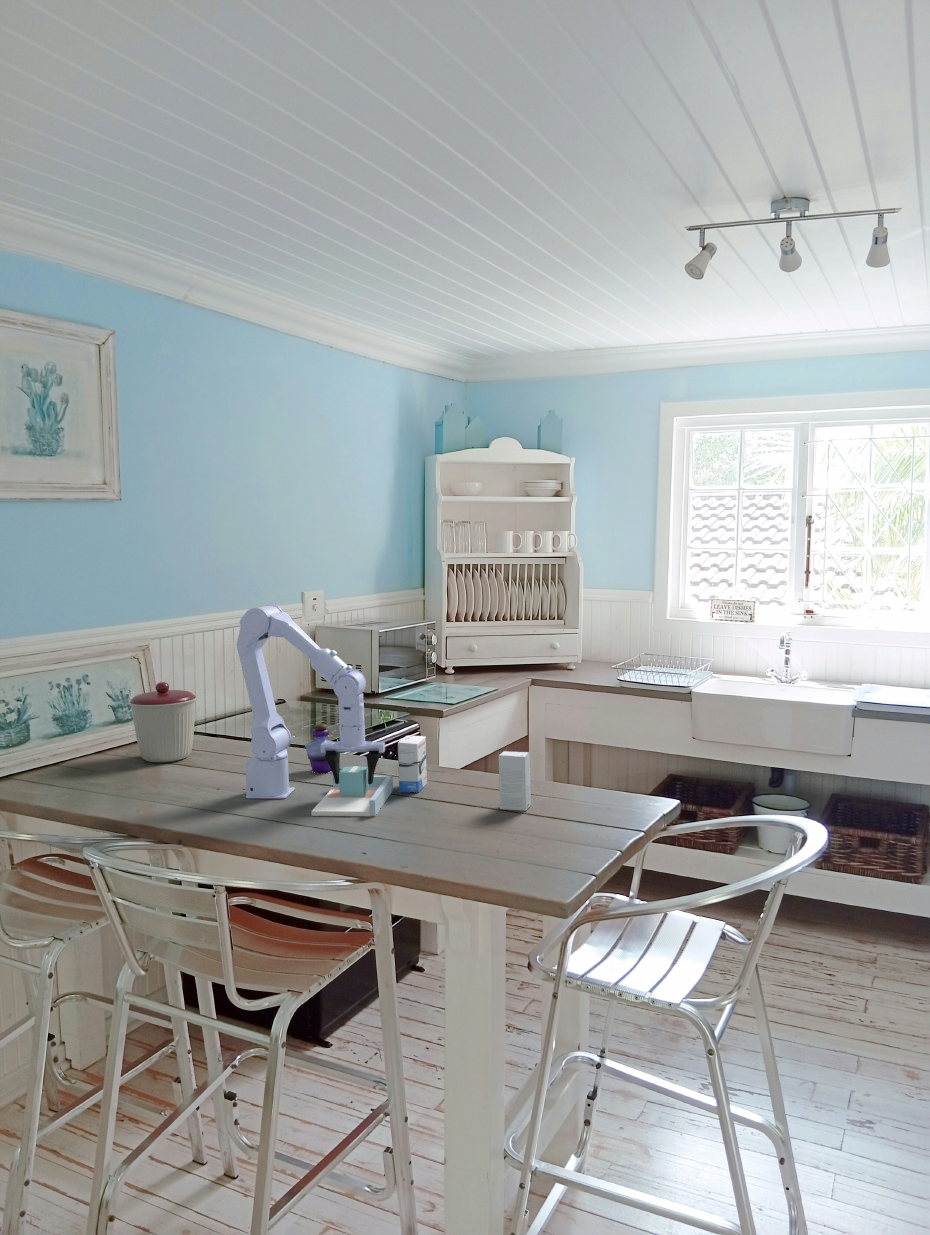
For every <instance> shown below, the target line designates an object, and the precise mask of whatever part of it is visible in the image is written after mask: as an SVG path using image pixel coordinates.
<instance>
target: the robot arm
mask: <svg viewBox="0 0 930 1235" xmlns="http://www.w3.org/2000/svg"><path fill="white" fill-rule="evenodd" d="M239 625H240V627H239V633H238V635H237V641H236V649H237V653H238V658H239V662H240V665H241V670H242V675H243V678H244V682H245V683H244V684H245V686H246V691H247V694H248V700H249V702H250V707H251V712H252V714H253V722H252V725H251V727H250V734H251V741H250V749H251V752H252V754H253V755H254V756H251V757H248V759H247V760H246V763H245V764H246V765H245V784H246V785H245V786H246V789H245V790H246V796H245V799H281V800H282V799H286V798H287V797H289V795H291V794H292V793H293V791H295V790H296V787H294V786H293V787H292V786H291V787H290V781H289V780H290V777H289V775H290V774H289V755H288V748H289V746H291V742H292V735H291V731H290V730H289V729H288V728H287V726H286V724H285V721H284V718H283V717H282V716H281V715H280V714H279V713H278V712H277V706H276V702H275V699H274V695H273V690H272V686H271V682H270V676H269V673H268V669H267V665H266V661H265V657H264V653H263V652H264V651H263V646H265V644H266V642H267V641H268V640H269V638H270V637H274V638H283V639H285V640H286V641H287V642H288V643H290V644H291V645H293V647H294V648H296V649H297V650H299V651H300V653H302V654H304V655H305V656H306V657H307V658H308V659H310V664H311V666H310V667H311V668H312V669H313V670H314V671H315V672H316V673H317V674H319V675H320V676H321V677H322V678H323V679H324V680H325V681H326V682H327V683H328V684H329V685H331V686H333V688H332V689H333V692H334V694H335V696H337V698H338V726H339V730H338V731H339V741H333V742H327V743H322V744H321V753H325V752H326V754H325V760H326V761H327V763H328V764H329V766H330V768H331V771H332V772H331V773H332V775H333V776H334V780H335V784H339V772H340V771H341V768H340V766H341V765H340V763H341V762H340V761H341V760H340V757H341V753H367V754H366V756H365V757H366V763H367V765H366V766H367V767H368V784H372V783H373V777H374V776H375V770H376V768H377V765H378V762H379V759H380V757H381V755H382V753H383V754H384V752H385V751H386V742H379V741H378V742H377V741H366V730H365V729H366V727H365V704H364V703H365V702H364V693H363V692H364V691H365V689H366V687H367V679H366V676H365V675H364V674H363V673H362V671H360V670H358V669H353V666H351V665H350V664H349V665H348V664H347V663H346V662H344V661H343V660H342V659H341V658H340V657H339V656H338V652H337V650H335V649H332V650H331V649H330V648H321V647H320V646H319V645H318V644H317V642H315V641H314V640H313V639H312V638H311V637H310V636H309V635H308V634H307V633H306V632H305V631H304V630H303V629H302V628H301V627H300V626H299V625H298V624H297V623H296V622H295V621H294V620H293V618H292V617H291V616H290V615H289V613H288V612H285V611H283V610H282V608H281V607H280V606H279V605H276V604H272V603H271V604H266V605H264V606H259V607H251V608H249V609H248V610H247V611H246V612H245V613H244V615H242V616H241V618H240V619H239ZM333 776H332V777H333Z"/></svg>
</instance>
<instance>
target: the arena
mask: <svg viewBox="0 0 930 1235" xmlns="http://www.w3.org/2000/svg"><path fill="white" fill-rule="evenodd" d="M393 782H394V779H393V775H374V777H373V783H372V784H369V791H368V792H367V793H366V795H365V796H364V797H340V787H339V784H335V780H334V776H332V788H331V789H330V790H329V791H328V792H327V793H326V795H324V797H322V799H321V800H320V801H319V802H318V803H317V804H316V806H314V807H313V809H312V810H310V811H311V817H313V816H314V817H315V816H316V817H319V816H320V817H376V816H377V815H376V814H379V812H380V811H381V809H382V808H383V806H384V804H385V803H386V801H387V800H388V799H389V797H390V796H391V794H392V793H393V791H394V783H393ZM380 808H381V809H380Z"/></svg>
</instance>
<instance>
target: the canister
mask: <svg viewBox="0 0 930 1235" xmlns="http://www.w3.org/2000/svg"><path fill="white" fill-rule="evenodd" d="M198 698H199V696H198V695H196V694H194V693H193V692H191V691H188V690H181V689H170V684H169V683H168V682H166V681H160V682H158V683H157V684H156V685H155V691H148V692H144V693H141V694H136V695H135V696H134V697H133V698H131V699H130V700H128V702H127V704H128V705H129V706H130V707H131V708H130V709H131V713H132V715H131V716H132V721H133V727H134V731H135V737H136V741H137V742H136V743H137V747H138V751H139V752H138V753H139V754H140V757H141V758H142V759H143V760H144V761H146V762H149V763H160V764H161V763H169V762H170V763H171V762H176V761H181V760H183V759H185V758H187V757H189V755H191V752H192V750H193V746H194V732H195V719H196V718H195V716H196V715H195V714H196V701H197V700H198Z"/></svg>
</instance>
